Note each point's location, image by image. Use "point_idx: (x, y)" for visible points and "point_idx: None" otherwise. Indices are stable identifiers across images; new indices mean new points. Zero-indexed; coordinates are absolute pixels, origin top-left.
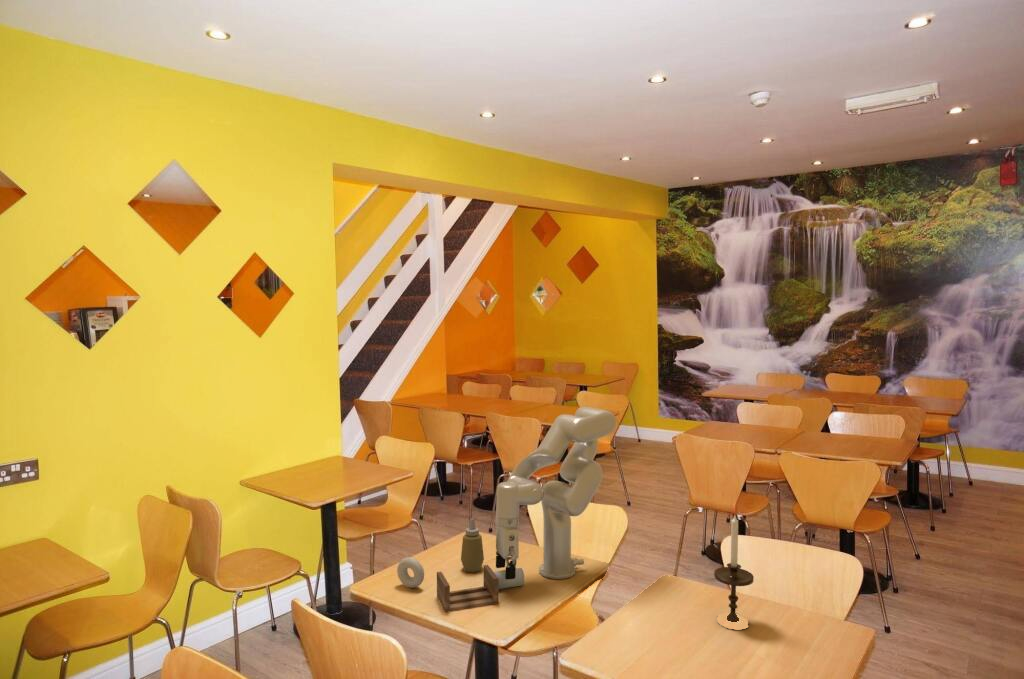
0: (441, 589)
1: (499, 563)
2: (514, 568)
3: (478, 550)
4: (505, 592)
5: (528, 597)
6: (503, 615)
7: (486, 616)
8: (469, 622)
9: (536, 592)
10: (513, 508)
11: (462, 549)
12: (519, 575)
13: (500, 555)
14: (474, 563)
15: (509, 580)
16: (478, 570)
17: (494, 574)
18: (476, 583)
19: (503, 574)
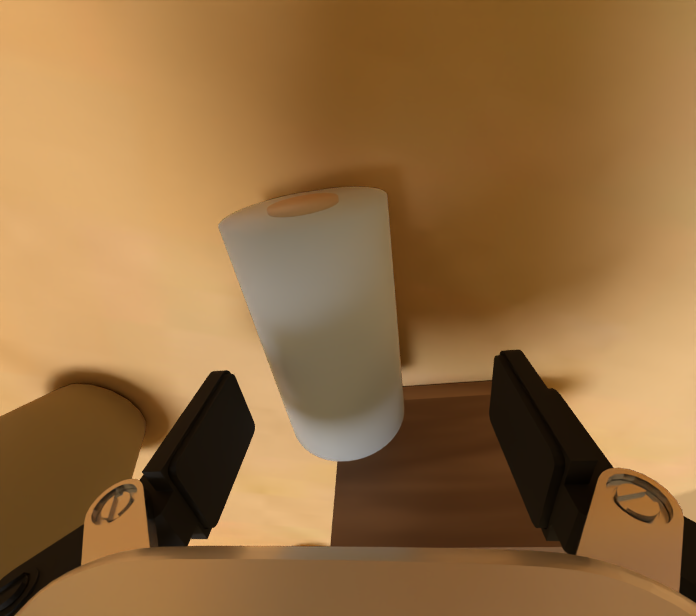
0: None
1: (235, 443)
2: (576, 445)
3: (24, 537)
4: (414, 321)
5: (558, 188)
6: (682, 380)
7: (631, 438)
8: None
9: (503, 86)
10: None
11: None
12: (379, 261)
13: (186, 520)
14: (122, 466)
15: (396, 334)
16: (122, 400)
17: (550, 551)
18: (272, 420)
19: (373, 399)
